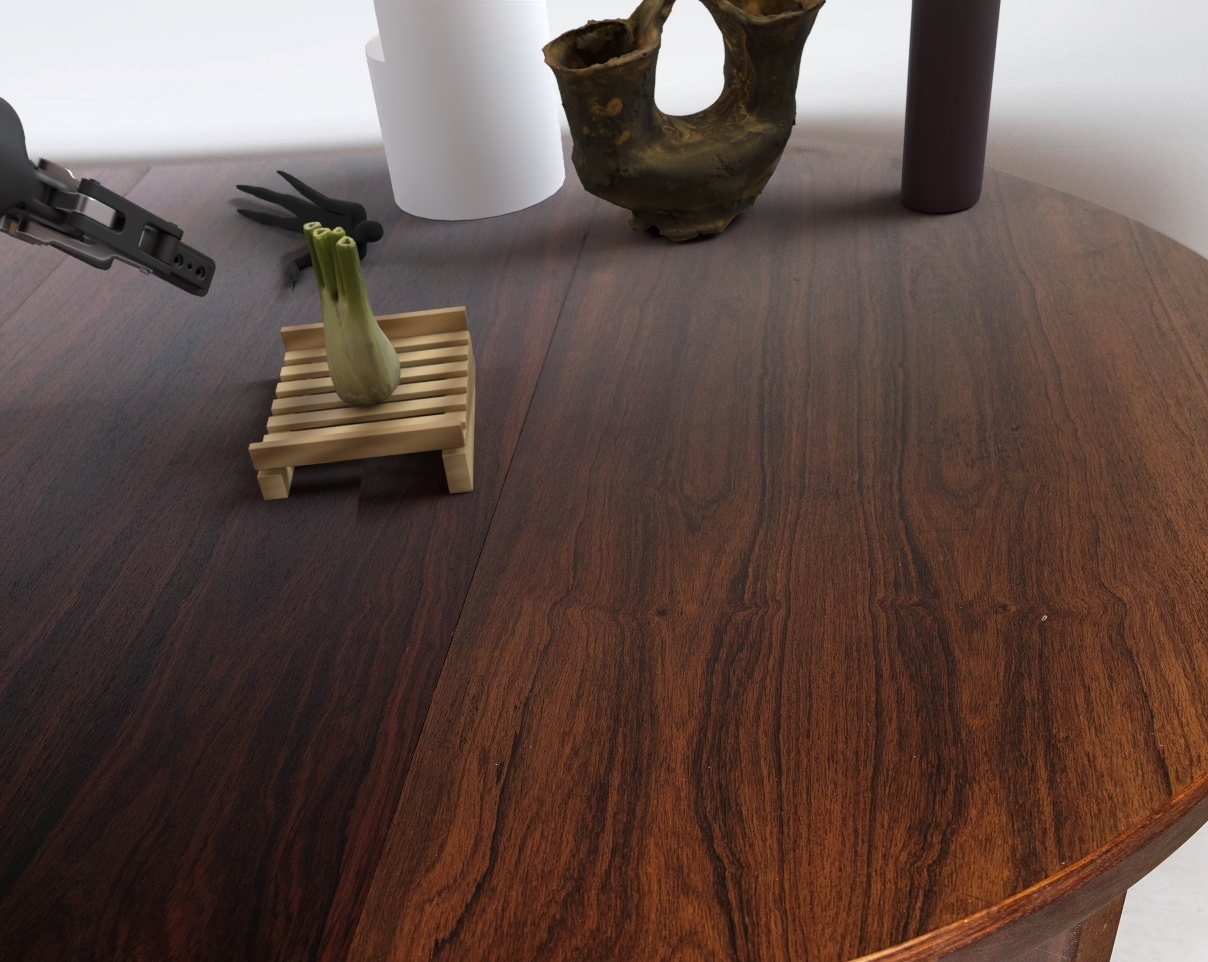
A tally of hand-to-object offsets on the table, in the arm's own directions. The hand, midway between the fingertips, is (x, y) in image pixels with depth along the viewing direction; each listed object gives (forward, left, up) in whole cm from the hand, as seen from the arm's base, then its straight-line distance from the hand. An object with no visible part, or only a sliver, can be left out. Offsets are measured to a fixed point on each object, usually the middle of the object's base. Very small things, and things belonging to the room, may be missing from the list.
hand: (158, 266), depth 75 cm
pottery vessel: (+35, +43, -18) cm, 59 cm away
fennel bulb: (+9, +10, -15) cm, 20 cm away
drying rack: (+8, +10, -18) cm, 23 cm away
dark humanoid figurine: (-4, +48, -18) cm, 51 cm away
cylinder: (+15, +58, -18) cm, 63 cm away
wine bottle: (+57, +41, -18) cm, 73 cm away
